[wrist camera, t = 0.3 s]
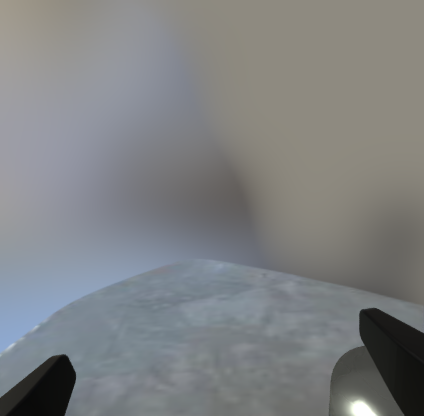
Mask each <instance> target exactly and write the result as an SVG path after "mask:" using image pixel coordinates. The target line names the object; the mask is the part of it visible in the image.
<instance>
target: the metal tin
mask: <svg viewBox="0 0 424 416" xmlns="http://www.w3.org/2000/svg"><path fill="white" fill-rule="evenodd" d="M329 416H404V414H403V413H402V411H401V410H400V408H399V406H398V405H397V403H396V402H395V400H394V398H393V397H392V395H391V393H390V391H389V390H388V388H387V386H386V384H385V382H384V380H383V378H382V377H381V375H380V373H379V371H378V369H377V367H376V365H375V363H374V362H373V360H372V358H371V356H370V354H369V352H368V350H367V349H366V347H365V346H361V347H357V348H354V349H352V350H350V351H348V352H347V353H345V354H344V355H343V356H342V357H341V358H340V359H339V360H338V362H337V363H336V365H335V367H334V369H333V372H332V376H331V386H330V404H329Z"/></svg>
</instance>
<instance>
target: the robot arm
mask: <svg viewBox="0 0 424 416" xmlns="http://www.w3.org/2000/svg"><path fill="white" fill-rule="evenodd" d="M359 332H360V336H361V339H362V341H363V343H364V345H365V347H366V349H367V350H368V352H369V354H370V356H371V358H372V360H373V362H374V363H375V365H376V367H377V369H378V371H379V373H380V375H381V377H382V378H383V380H384V382H385V384H386V386H387V388H388V390H389V391H390V393H391V395H392V397H393V398H394V400H395V402H396V403H397V405H398V406H399V408H400V410H401V411H402V413H403V414H404V416H424V333H423V332H421V331H419V330H417V329H415V328H413V327H411V326H409V325H407V324H405V323H404V322H402V321H400V320H398V319H396V318H394V317H392V316H390V315H388V314H387V313H385V312H383V311H381V310H379V309H377V308H368V309H362V310H361V311H360V314H359ZM75 381H76V372H75V370H74V368H73V366H72V364H71V362H70V360H69V358H68V356H67V355H64V354H63V355H56V356H52V357H50V358H49V359H48V360H46V361H45V362H44V363H43V364H41V365H40V366H39V367H38V368H36V369H35V370H34V371H33V372H32V373H30V374H29V375H28V376H27V377H25V378H24V379H23V380H22V381H20V382H19V383H18V384H17V385H16V386H14V387H13V388H12V389H11V390H9V391H8V392H7V393H6V394H4V395H3V396H2V397H1V398H0V416H65V413H66V410H67V407H68V403H69V400H70V397H71V394H72V391H73V388H74V385H75Z"/></svg>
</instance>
